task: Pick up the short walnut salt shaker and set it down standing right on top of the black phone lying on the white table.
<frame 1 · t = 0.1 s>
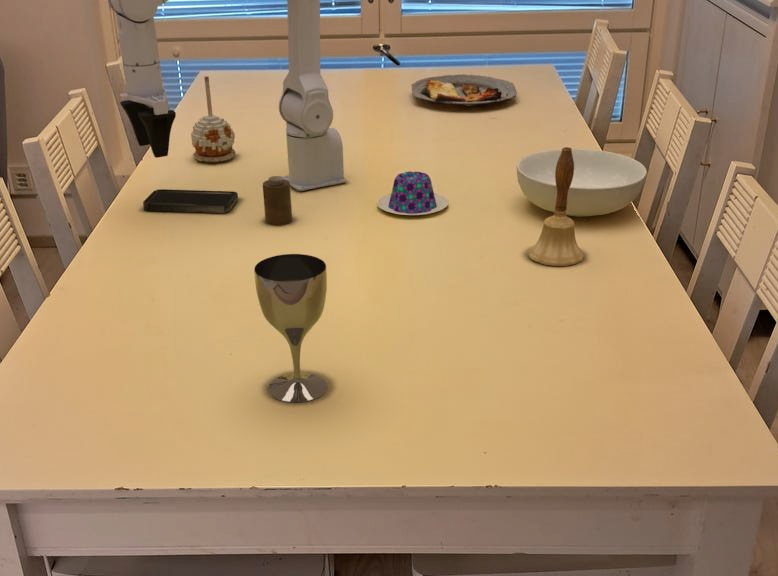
hand: (153, 150, 167), 10 cm above the table, tool pointing down, fingers open, 7 cm apart
salt shaker: (278, 220, 168), on the table
food plate: (463, 99, 231), on the table
pudding: (412, 208, 172), on the table
phone: (191, 205, 175), on the table
serving bowl: (577, 209, 170), on the table
hand bell: (555, 257, 153), on the table
wine glass: (298, 389, 121), on the table
caramel apple: (215, 159, 197), on the table
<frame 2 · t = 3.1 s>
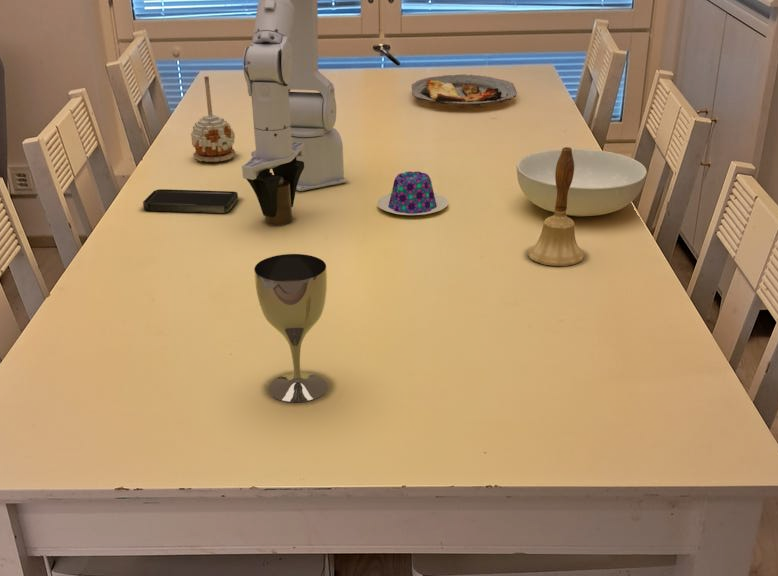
hand: (278, 211, 167), 2 cm above the table, tool pointing down, fingers closed on salt shaker, 4 cm apart
salt shaker: (278, 220, 168), on the table, touching gripper
everything else where it was.
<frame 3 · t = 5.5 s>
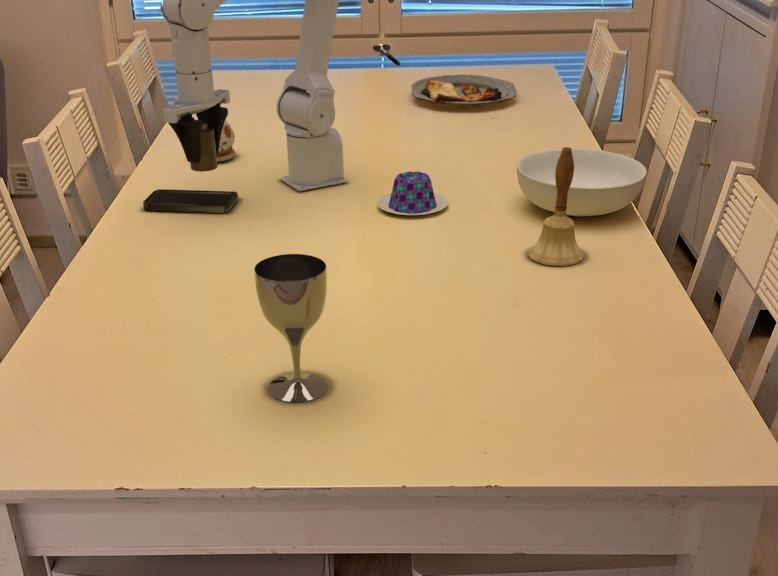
hand: (203, 157, 169), 9 cm above the table, tool pointing down, fingers closed on salt shaker, 4 cm apart
salt shaker: (204, 167, 169), point 7 cm above the table, touching gripper
everything else where it was.
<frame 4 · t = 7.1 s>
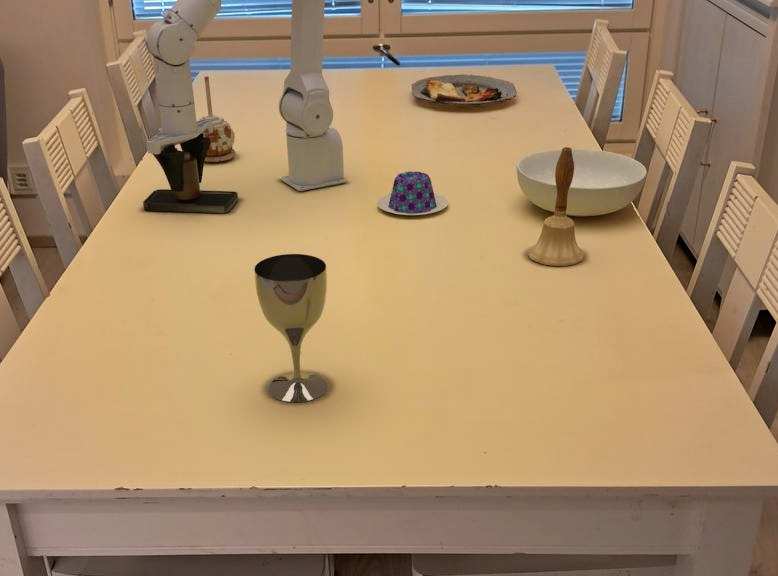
hand: (186, 186, 173), 3 cm above the table, tool pointing down, fingers closed on salt shaker, 4 cm apart
salt shaker: (187, 195, 174), point 2 cm above the table, touching gripper
everything else where it was.
when the fingers open (2 cm above the table, at t = 8.0 s): salt shaker stays where it is, resting on phone.
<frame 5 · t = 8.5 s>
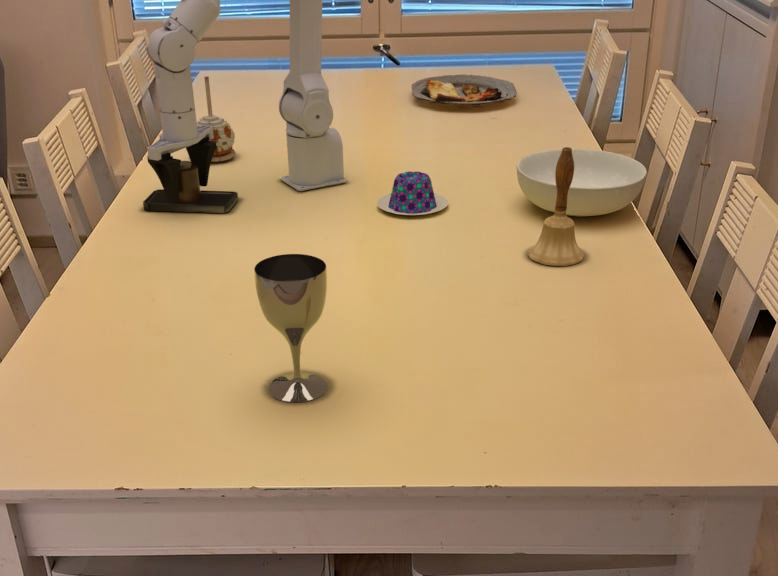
hand: (187, 191, 174), 2 cm above the table, tool pointing down, fingers open, 7 cm apart
salt shaker: (188, 203, 175), resting on phone
phone: (191, 205, 175), on the table, touching salt shaker
everything else where it was.
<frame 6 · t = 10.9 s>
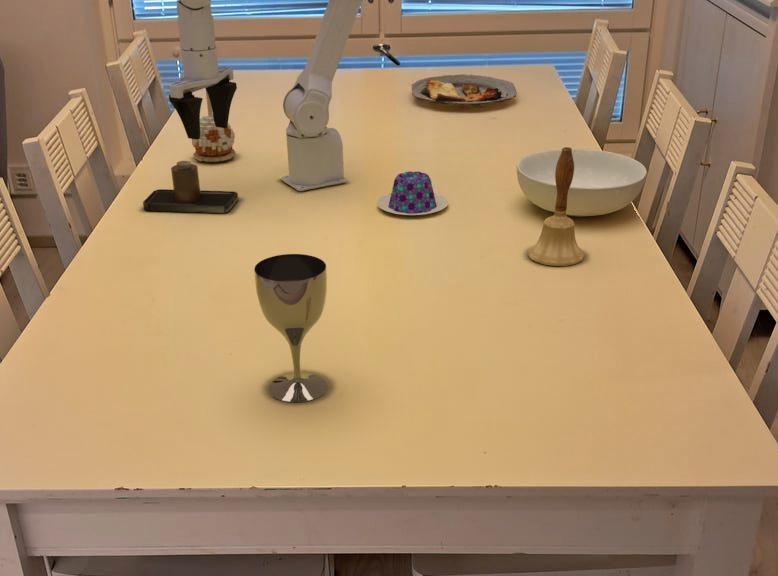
hand: (207, 132, 175), 10 cm above the table, tool pointing down, fingers open, 7 cm apart
nothing on the table moved.
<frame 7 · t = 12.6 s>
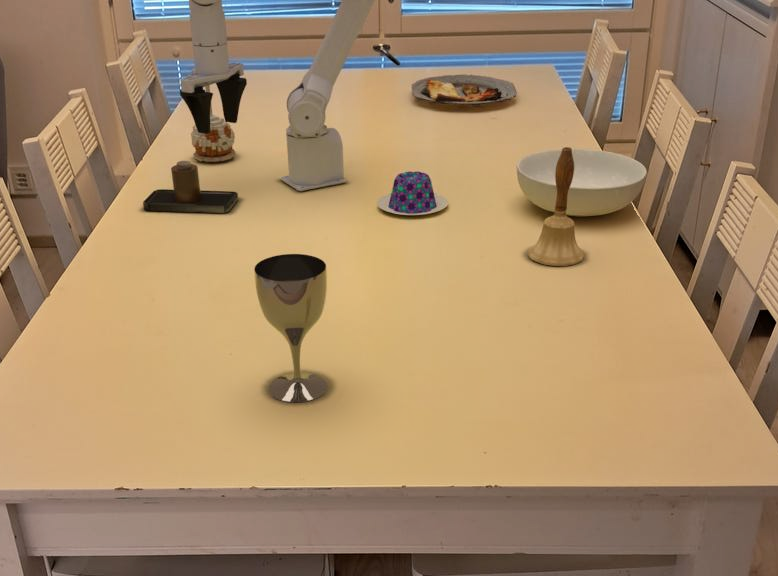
hand: (217, 127, 177), 10 cm above the table, tool pointing down, fingers open, 7 cm apart
nothing on the table moved.
at the end: salt shaker 0.5 cm from the phone (horizontally); salt shaker touching phone; salt shaker tilted 0° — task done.
